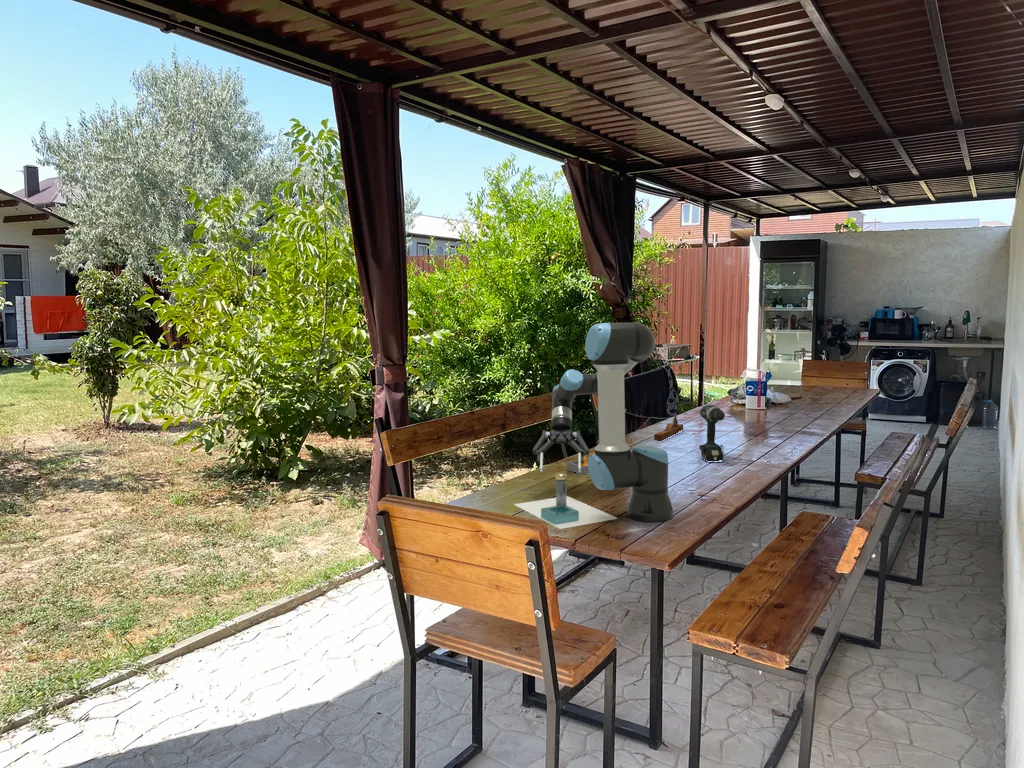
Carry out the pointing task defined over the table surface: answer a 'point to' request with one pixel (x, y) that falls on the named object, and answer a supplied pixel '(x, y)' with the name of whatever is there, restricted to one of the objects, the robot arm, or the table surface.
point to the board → (585, 511)
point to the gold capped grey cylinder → (561, 488)
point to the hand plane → (669, 430)
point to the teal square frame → (559, 514)
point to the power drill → (711, 433)
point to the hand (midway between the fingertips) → (560, 470)
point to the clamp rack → (574, 467)
